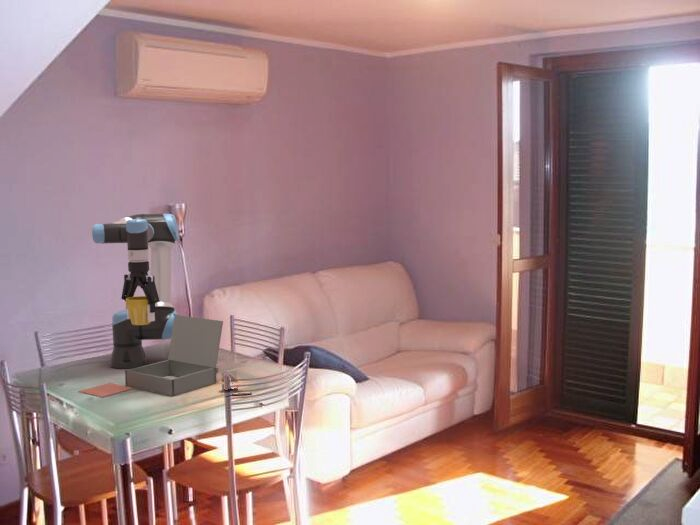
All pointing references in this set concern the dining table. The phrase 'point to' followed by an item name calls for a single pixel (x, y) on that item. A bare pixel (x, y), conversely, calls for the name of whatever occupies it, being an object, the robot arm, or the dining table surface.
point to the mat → (106, 390)
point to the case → (182, 359)
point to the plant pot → (138, 310)
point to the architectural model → (233, 379)
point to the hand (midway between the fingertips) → (141, 319)
